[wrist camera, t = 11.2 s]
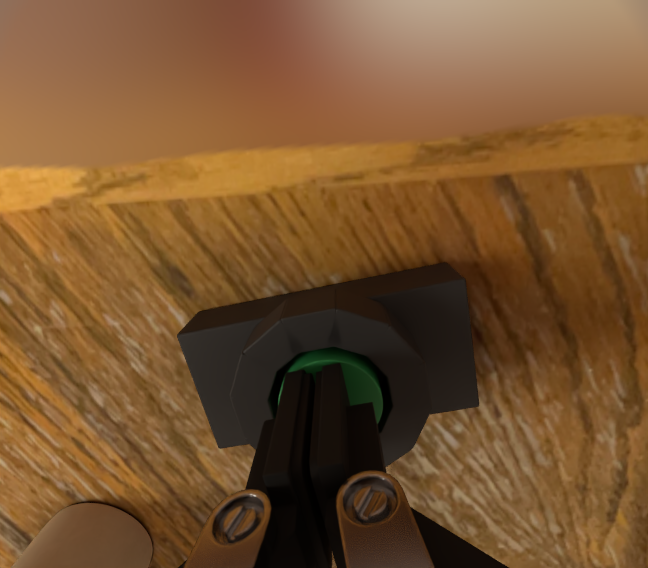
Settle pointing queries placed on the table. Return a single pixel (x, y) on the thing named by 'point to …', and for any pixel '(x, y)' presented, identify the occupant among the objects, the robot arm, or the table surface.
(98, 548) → the candle
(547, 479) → the table surface
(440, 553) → the robot arm
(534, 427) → the table surface
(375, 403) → the arm button
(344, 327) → the dark grey button housing
